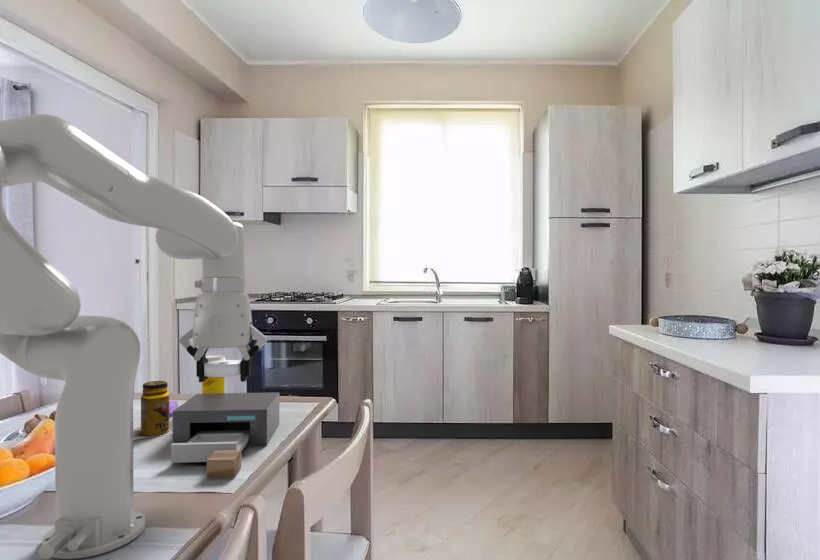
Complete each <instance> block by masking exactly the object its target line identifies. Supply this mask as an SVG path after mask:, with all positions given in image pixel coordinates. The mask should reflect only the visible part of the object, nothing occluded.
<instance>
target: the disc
mask: <svg viewBox="0 0 820 560" xmlns="http://www.w3.org/2000/svg"><path fill="white" fill-rule="evenodd" d="M241 361H242V360H241V359H226V360H220V361H212V362H207V363H205V364H204V376H207V377H226V378H227V377H236V376H240V362H241Z"/></svg>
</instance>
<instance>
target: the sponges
mask: <svg viewBox="0 0 820 560" xmlns="http://www.w3.org/2000/svg"><path fill="white" fill-rule="evenodd" d="M178 407H179V400H171V401H170V400H169V418H173V411H174V410H175V409H177V408H178Z"/></svg>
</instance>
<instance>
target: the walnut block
mask: <svg viewBox="0 0 820 560" xmlns="http://www.w3.org/2000/svg"><path fill="white" fill-rule="evenodd" d="M241 470H242V451H241V450H221V451H214V452H213V453H212V455H211V456H210V457H209V458H208V459H207V462H206V480H218V479H224V480H225V479H235V478H236V477H237V476H238V474H239V473H240V471H241Z"/></svg>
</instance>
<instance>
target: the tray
mask: <svg viewBox="0 0 820 560" xmlns="http://www.w3.org/2000/svg"><path fill="white" fill-rule="evenodd" d="M249 440H250V430H232V431H199V432H198V433H197V434H196V435H194V436H193V437H192V438H191V439H190V440H189V441H188V442H187V443H173V442H172V443H171V444H170V463H173V464H174V463H175V464H179V463H207V459H208V458H209V457H210V456H211V455H212V453H213V452H214V451H221V450H241V452H242V451H243V449H244V448H245V447H246V446H245V445H246V444H247V442H248V441H249Z"/></svg>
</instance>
